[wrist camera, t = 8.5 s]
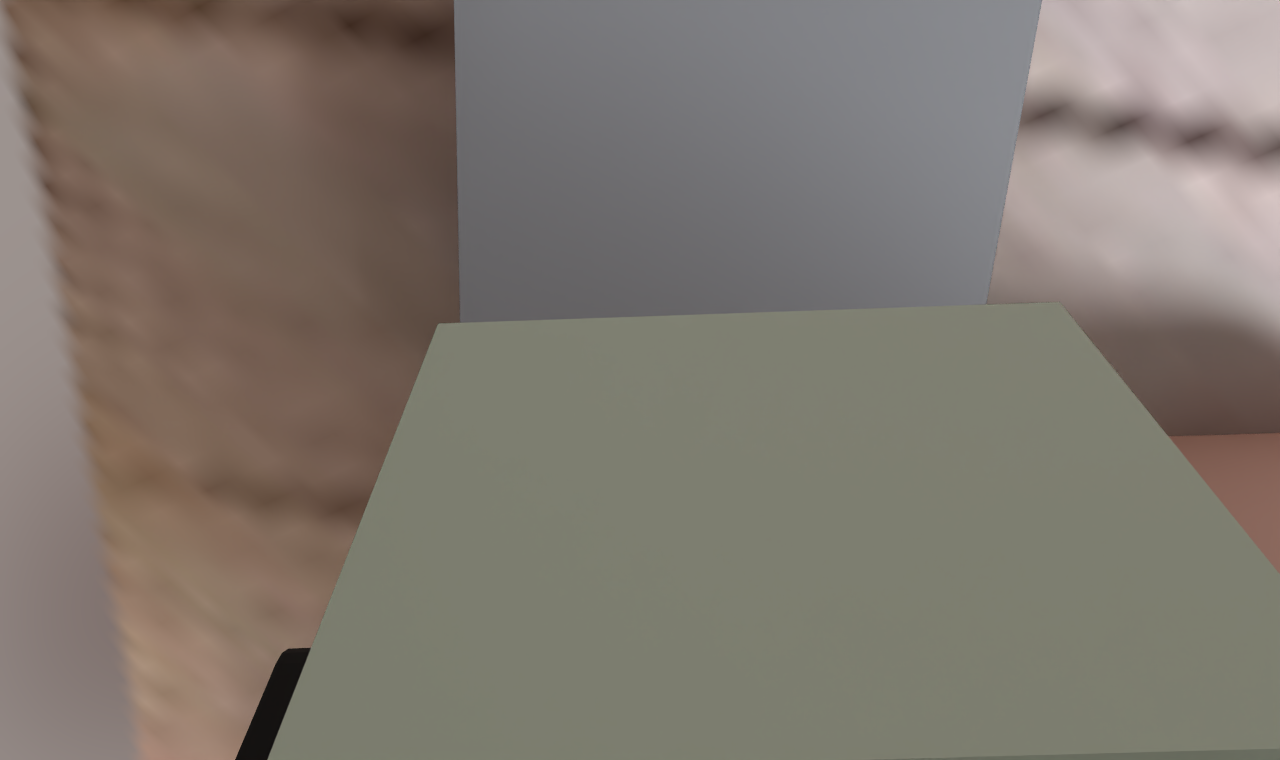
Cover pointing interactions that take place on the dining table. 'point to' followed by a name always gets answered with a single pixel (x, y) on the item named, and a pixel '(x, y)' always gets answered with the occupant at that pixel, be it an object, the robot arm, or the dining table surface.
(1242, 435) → the brick cube
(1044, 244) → the dining table surface
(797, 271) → the slate base block
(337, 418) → the dining table surface
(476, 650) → the sage cube
